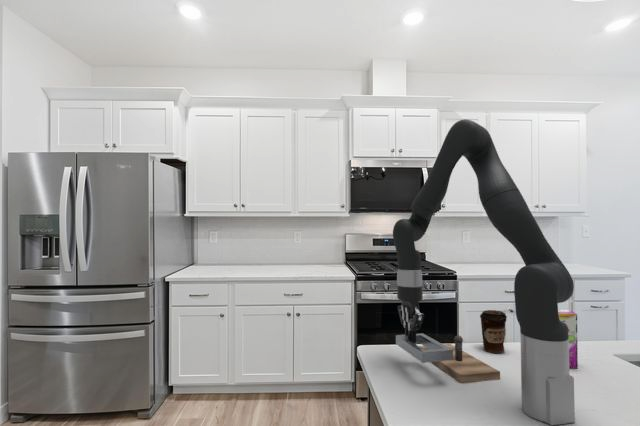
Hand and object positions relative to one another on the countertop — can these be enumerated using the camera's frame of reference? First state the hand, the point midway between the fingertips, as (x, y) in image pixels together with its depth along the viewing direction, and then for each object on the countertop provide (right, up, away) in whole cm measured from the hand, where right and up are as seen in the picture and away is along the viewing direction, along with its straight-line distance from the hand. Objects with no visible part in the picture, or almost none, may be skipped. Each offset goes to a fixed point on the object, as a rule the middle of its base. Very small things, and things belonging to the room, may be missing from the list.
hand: (410, 341), depth 108 cm
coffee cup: (+31, -8, +12) cm, 34 cm away
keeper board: (+13, -7, 0) cm, 15 cm away
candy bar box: (+43, -7, -1) cm, 44 cm away
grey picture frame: (+2, 0, -7) cm, 7 cm away
